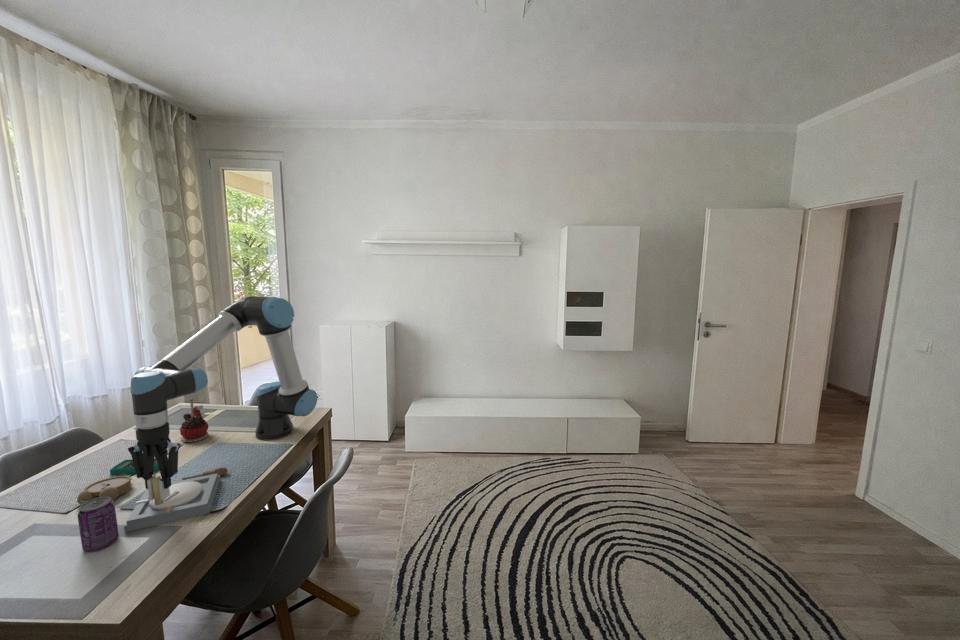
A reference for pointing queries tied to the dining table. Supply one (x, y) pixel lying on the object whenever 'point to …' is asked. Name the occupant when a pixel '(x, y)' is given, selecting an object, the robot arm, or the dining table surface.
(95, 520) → the beverage can
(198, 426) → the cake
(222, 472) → the screwdriver
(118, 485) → the alarm clock
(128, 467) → the digital multimeter
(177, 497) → the dial
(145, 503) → the panel
